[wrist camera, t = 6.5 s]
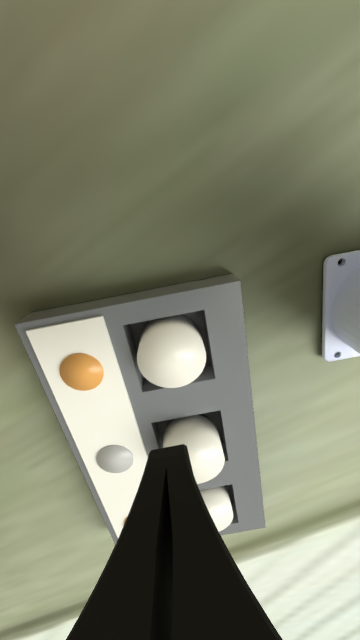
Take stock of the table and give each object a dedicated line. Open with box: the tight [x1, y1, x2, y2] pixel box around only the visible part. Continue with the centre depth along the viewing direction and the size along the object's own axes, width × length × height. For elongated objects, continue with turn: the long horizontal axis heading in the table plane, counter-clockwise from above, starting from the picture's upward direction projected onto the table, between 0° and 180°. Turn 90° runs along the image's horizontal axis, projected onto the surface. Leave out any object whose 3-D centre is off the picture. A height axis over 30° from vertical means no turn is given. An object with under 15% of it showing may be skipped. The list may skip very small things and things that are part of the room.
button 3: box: [200, 485, 233, 532], centre depth 24 cm, size 4×4×2 cm
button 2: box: [163, 415, 225, 484], centre depth 20 cm, size 4×4×2 cm
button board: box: [14, 274, 265, 545], centre depth 22 cm, size 14×24×2 cm, turn 11°
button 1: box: [137, 315, 206, 388], centre depth 18 cm, size 4×4×2 cm
